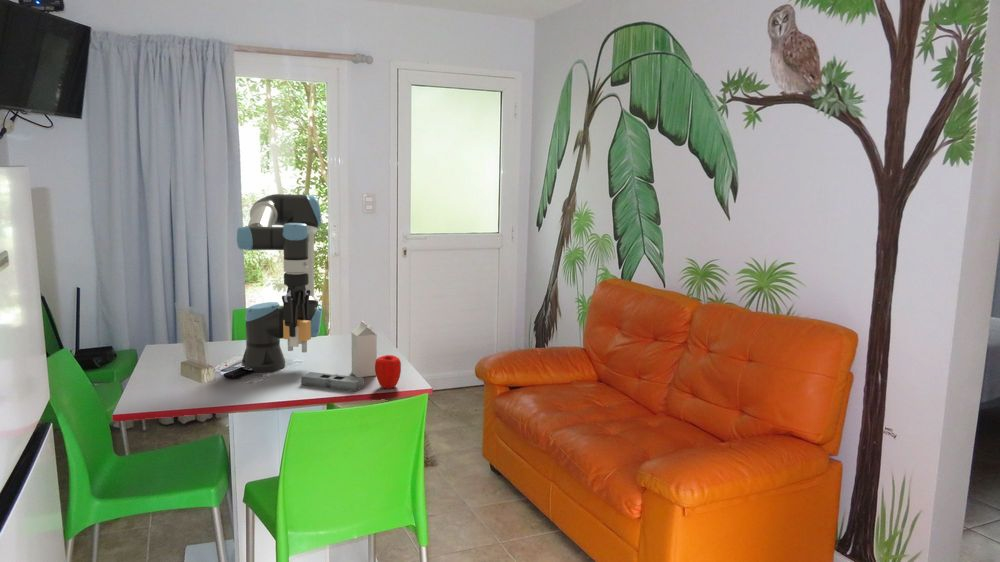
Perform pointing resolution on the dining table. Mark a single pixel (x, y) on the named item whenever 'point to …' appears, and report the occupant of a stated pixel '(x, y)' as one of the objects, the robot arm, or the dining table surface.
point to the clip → (299, 333)
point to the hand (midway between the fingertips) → (297, 344)
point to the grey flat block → (332, 381)
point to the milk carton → (364, 350)
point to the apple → (388, 370)
